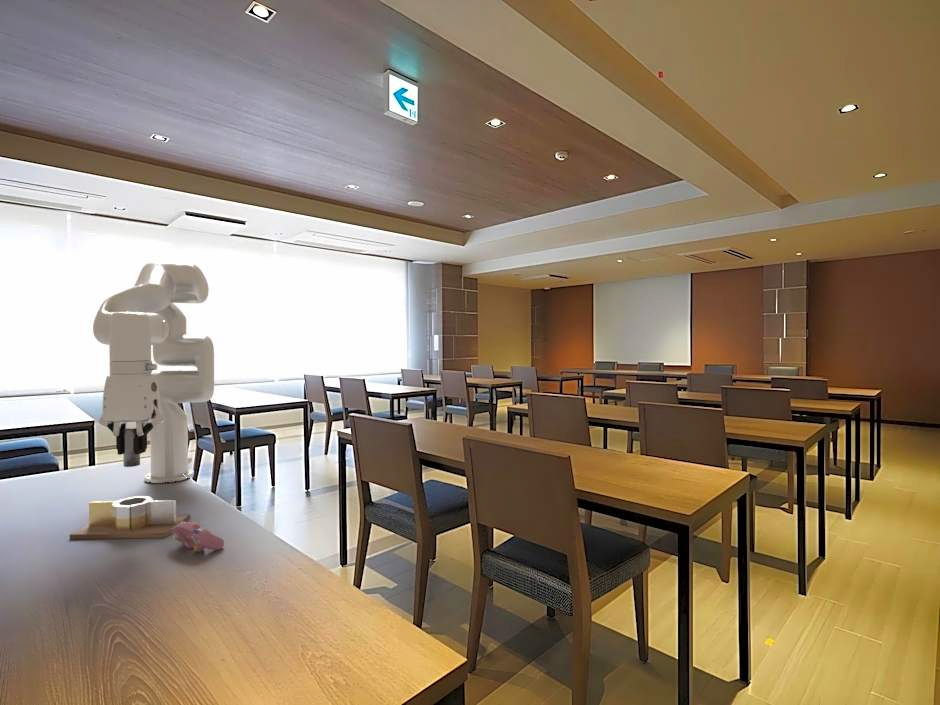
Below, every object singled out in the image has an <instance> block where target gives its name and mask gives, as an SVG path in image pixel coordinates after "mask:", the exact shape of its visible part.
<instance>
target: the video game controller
mask: <svg viewBox="0 0 940 705" xmlns="http://www.w3.org/2000/svg"><path fill="white" fill-rule="evenodd" d="M171 537H172V540H174V541H179V542H180V544H183V546H184V547H185V548H187V549H193V550H194V551H197V552H198V553H202V551H203V550H204V549H207V550H211V551H219V550H221V549H223V547H224V545H225V541H224V539H223V538H221V537H220V536H218V535H215V534H214V533H212V532H211V531H209V529H207V528H205V527H204V526H201V525H200V524H199V523H198V522H196V521H186V522H185V523H184V522H183V521H182V522H181V523H180V524H177V525H176V526H174V527H173V528H172V529H171Z"/></svg>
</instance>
